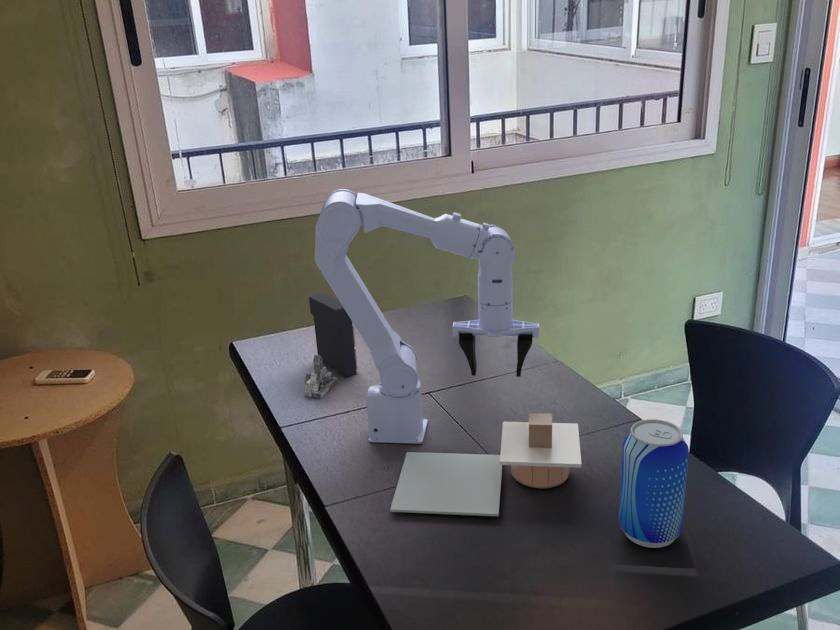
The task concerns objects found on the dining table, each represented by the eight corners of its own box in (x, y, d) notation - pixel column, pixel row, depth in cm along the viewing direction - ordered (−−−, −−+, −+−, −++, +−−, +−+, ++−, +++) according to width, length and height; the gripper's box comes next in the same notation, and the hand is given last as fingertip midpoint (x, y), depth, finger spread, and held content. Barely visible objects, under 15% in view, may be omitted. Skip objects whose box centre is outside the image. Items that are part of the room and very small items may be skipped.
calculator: (360, 372, 160) (354, 304, 155) (342, 378, 158) (335, 310, 152) (332, 356, 169) (326, 291, 163) (315, 362, 166) (308, 296, 161)
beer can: (644, 558, 103) (651, 454, 97) (606, 523, 110) (610, 424, 104) (694, 540, 106) (704, 438, 100) (654, 507, 113) (661, 410, 107)
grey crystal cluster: (304, 374, 161) (301, 340, 159) (342, 379, 158) (339, 345, 155) (282, 394, 154) (278, 359, 151) (321, 400, 151) (317, 364, 148)
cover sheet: (499, 464, 116) (499, 438, 115) (503, 424, 127) (502, 399, 126) (581, 467, 115) (582, 440, 113) (577, 426, 126) (578, 401, 124)
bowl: (510, 487, 120) (510, 459, 118) (512, 455, 128) (512, 429, 126) (570, 489, 118) (570, 461, 116) (567, 457, 126) (568, 430, 125)
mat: (390, 511, 115) (390, 509, 115) (407, 454, 130) (406, 451, 130) (498, 516, 113) (498, 514, 113) (503, 457, 128) (503, 455, 127)
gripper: (449, 308, 127) (451, 382, 132) (539, 309, 124) (538, 385, 129) (454, 293, 133) (456, 365, 138) (539, 294, 131) (538, 367, 136)
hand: (496, 373), depth 134 cm, fingers open, 7 cm apart
